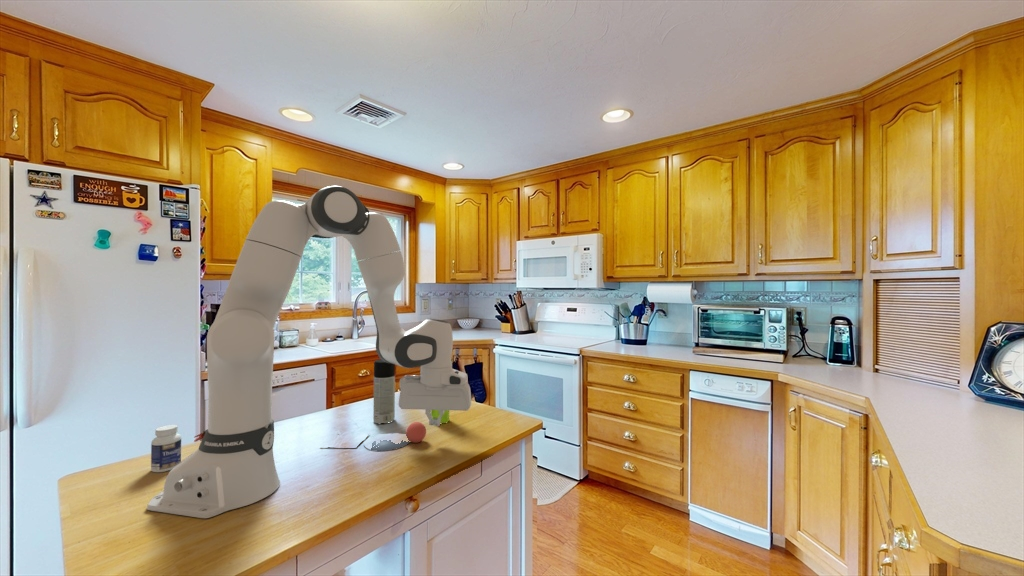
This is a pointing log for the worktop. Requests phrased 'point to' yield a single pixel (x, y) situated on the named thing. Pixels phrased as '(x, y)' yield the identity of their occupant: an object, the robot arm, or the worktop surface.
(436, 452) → the worktop surface
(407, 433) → the ball
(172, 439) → the pill bottle
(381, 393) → the spray can
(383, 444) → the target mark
